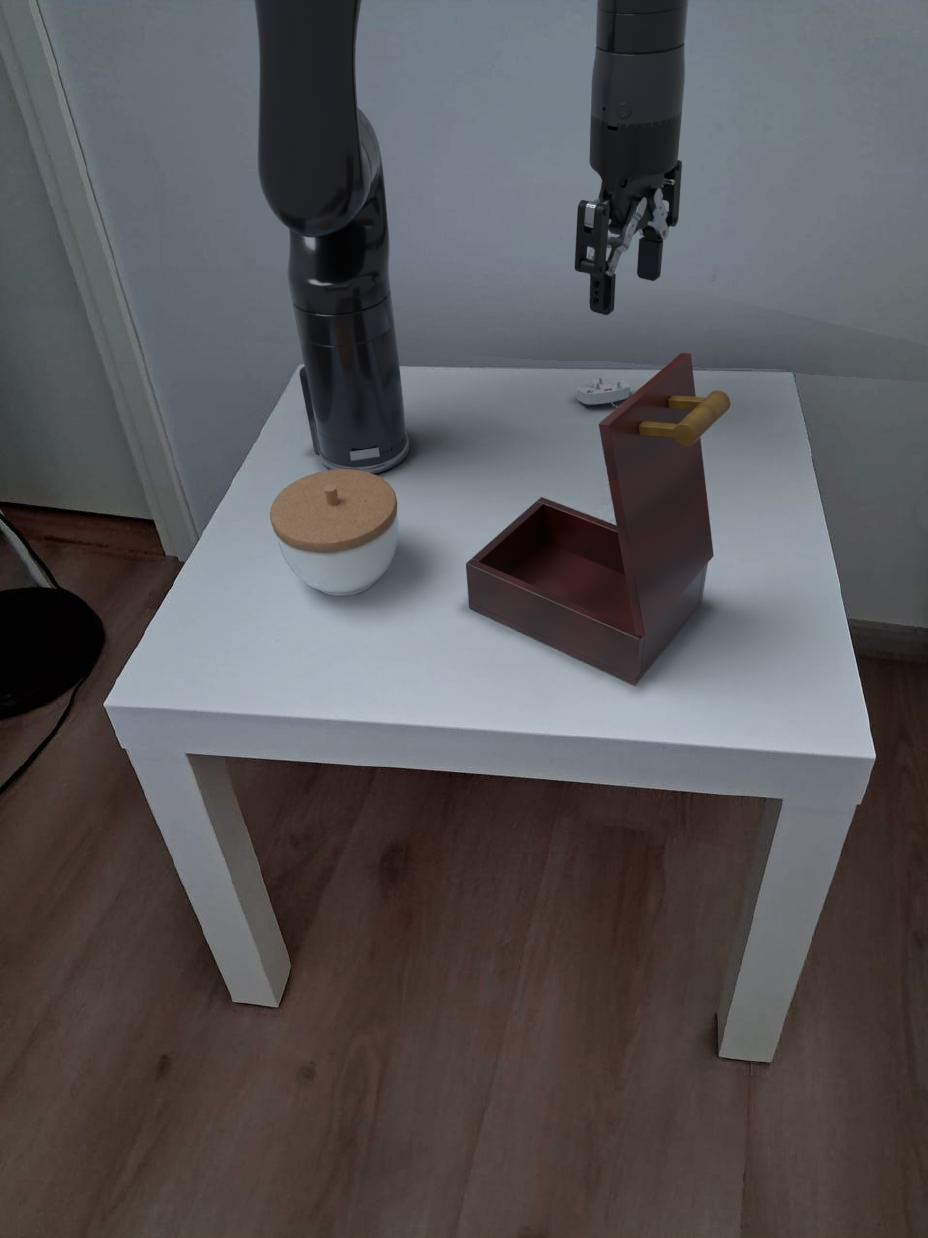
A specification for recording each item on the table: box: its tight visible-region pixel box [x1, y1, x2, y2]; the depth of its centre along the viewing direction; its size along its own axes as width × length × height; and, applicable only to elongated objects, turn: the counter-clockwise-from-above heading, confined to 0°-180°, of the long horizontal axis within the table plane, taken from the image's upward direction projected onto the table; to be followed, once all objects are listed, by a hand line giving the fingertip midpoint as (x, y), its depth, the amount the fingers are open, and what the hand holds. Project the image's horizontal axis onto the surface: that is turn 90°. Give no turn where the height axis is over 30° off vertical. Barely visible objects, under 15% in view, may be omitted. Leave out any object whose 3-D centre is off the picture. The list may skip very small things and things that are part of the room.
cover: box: [598, 352, 731, 636], centre depth 66 cm, size 17×11×5 cm
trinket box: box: [269, 469, 399, 597], centre depth 81 cm, size 11×11×9 cm
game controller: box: [576, 377, 630, 408], centre depth 101 cm, size 6×12×3 cm, turn 31°
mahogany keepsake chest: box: [465, 496, 709, 687], centre depth 77 cm, size 16×11×5 cm
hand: (625, 294), depth 89 cm, fingers open, 8 cm apart
